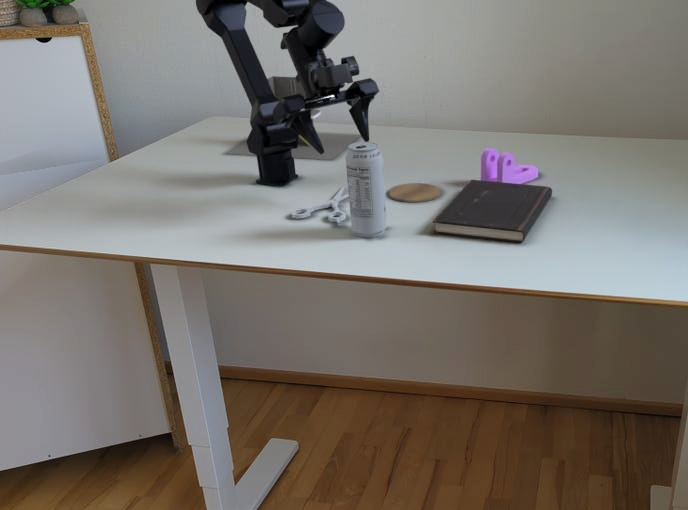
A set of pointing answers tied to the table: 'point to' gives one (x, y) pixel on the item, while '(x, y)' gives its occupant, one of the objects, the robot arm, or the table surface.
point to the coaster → (414, 192)
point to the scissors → (329, 203)
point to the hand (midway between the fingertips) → (345, 147)
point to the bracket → (505, 168)
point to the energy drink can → (366, 189)
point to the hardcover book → (493, 211)
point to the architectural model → (330, 142)
